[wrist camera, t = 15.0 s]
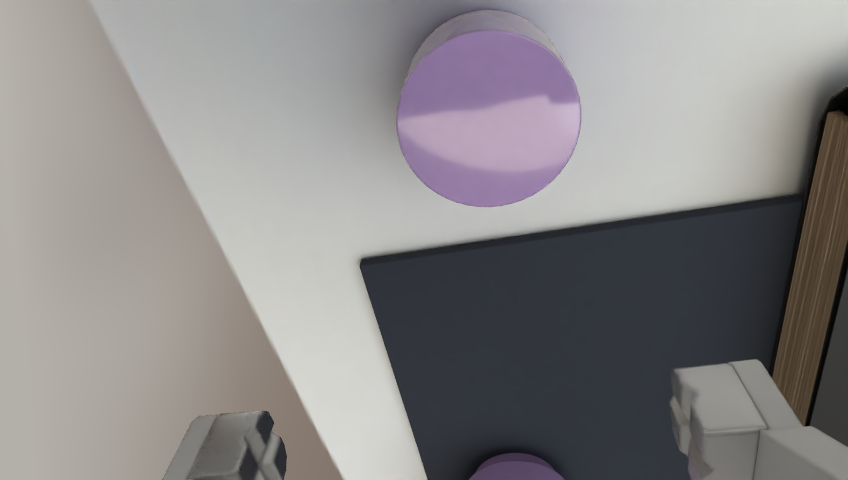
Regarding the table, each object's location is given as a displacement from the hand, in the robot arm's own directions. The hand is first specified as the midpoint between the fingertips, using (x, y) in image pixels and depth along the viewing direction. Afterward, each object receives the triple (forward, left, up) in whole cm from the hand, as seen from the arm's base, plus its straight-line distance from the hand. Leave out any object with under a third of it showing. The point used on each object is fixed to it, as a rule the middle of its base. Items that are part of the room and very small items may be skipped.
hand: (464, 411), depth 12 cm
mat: (+4, -18, -15) cm, 23 cm away
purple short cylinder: (+1, +2, -15) cm, 15 cm away
